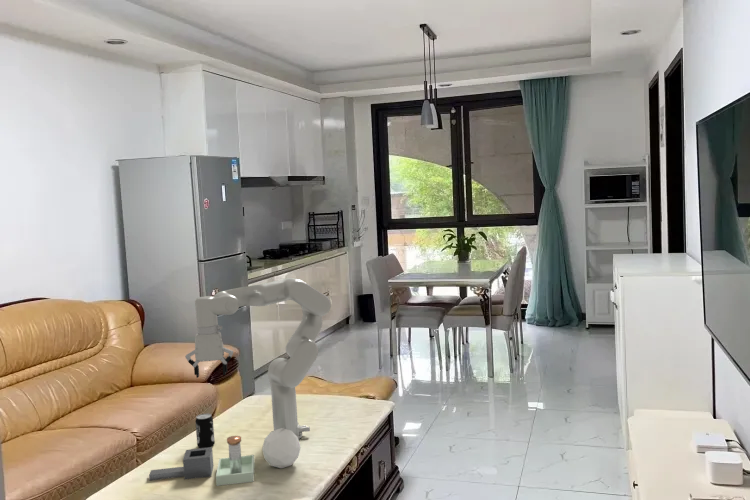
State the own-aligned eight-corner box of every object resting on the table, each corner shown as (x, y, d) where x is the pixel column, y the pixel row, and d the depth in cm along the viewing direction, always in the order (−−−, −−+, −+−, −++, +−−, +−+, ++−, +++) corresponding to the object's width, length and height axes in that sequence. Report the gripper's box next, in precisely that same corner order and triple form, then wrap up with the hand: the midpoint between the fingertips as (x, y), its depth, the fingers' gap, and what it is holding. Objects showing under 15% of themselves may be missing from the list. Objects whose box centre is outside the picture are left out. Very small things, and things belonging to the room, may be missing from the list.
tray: (219, 467, 235) (219, 458, 235) (254, 463, 237) (254, 454, 237) (216, 485, 220) (215, 476, 220) (253, 481, 222) (252, 472, 222)
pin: (243, 468, 232) (241, 435, 231) (243, 474, 227) (240, 439, 226) (229, 470, 231) (227, 436, 230) (228, 476, 226) (226, 441, 225)
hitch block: (213, 465, 237) (212, 447, 236) (211, 476, 228) (209, 456, 227) (152, 472, 234) (151, 453, 233) (148, 483, 225) (146, 463, 224)
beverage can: (210, 449, 253) (207, 419, 251) (194, 449, 254) (192, 418, 253) (217, 442, 259) (215, 413, 258) (202, 442, 260) (199, 412, 259)
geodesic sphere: (267, 439, 244) (261, 418, 235) (304, 438, 244) (299, 417, 235) (263, 475, 234) (256, 455, 224) (301, 474, 233) (296, 453, 224)
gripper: (232, 326, 248) (235, 370, 250) (184, 330, 245) (188, 374, 247) (231, 330, 241) (234, 376, 242) (182, 334, 238) (185, 380, 240)
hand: (211, 375), depth 245 cm, fingers open, 9 cm apart
